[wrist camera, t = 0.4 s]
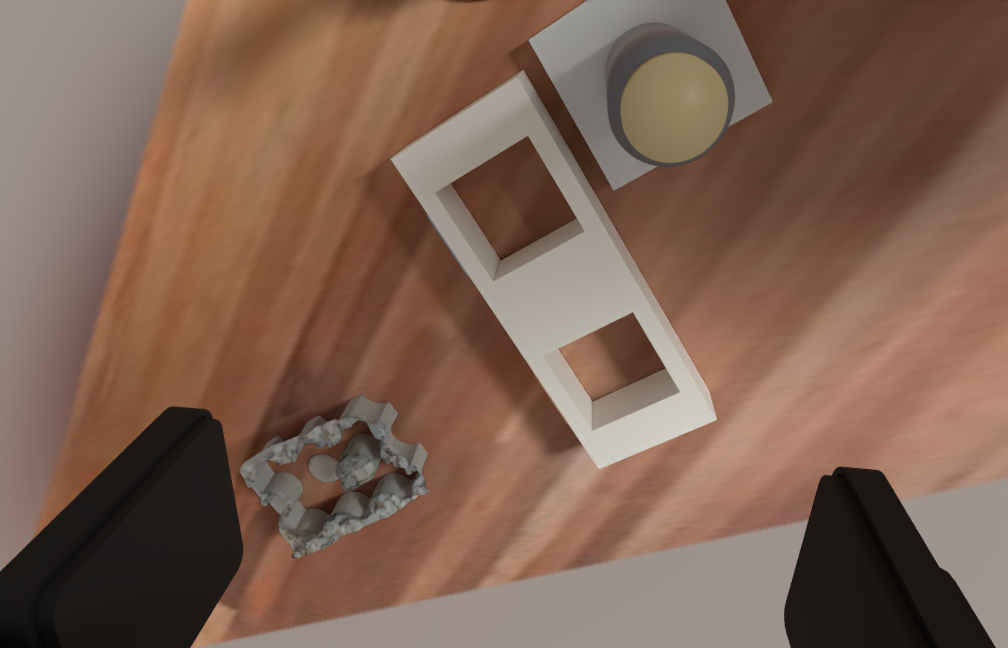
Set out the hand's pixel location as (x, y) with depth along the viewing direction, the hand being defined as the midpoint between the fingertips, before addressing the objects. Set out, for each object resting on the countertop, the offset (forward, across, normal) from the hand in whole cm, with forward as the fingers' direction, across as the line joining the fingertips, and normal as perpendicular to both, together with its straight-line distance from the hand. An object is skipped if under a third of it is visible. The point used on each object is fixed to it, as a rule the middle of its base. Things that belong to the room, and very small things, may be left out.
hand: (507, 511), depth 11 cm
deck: (+26, -4, -4) cm, 27 cm away
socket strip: (+26, 0, +6) cm, 27 cm away
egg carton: (+27, +13, +20) cm, 36 cm away
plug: (+25, -4, -4) cm, 26 cm away
